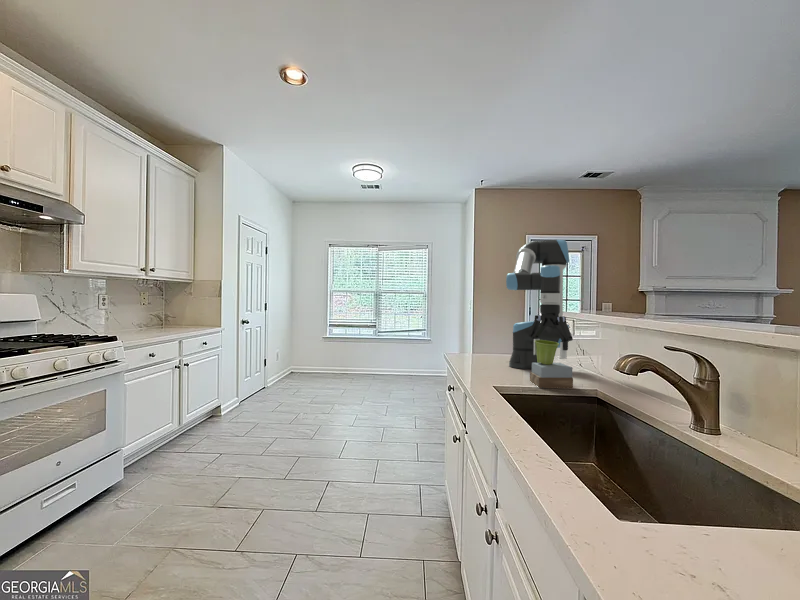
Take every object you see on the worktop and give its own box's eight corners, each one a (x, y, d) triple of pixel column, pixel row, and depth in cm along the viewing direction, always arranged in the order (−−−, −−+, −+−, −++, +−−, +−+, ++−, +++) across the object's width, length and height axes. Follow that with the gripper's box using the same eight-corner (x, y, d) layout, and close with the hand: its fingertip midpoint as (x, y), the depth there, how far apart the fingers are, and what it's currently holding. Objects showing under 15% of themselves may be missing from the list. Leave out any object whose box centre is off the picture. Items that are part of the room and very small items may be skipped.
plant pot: (553, 361, 174) (555, 341, 173) (560, 366, 164) (562, 345, 164) (530, 359, 175) (532, 339, 174) (535, 364, 165) (537, 343, 165)
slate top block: (531, 372, 173) (531, 362, 173) (560, 372, 172) (560, 362, 172) (541, 377, 161) (541, 367, 161) (572, 377, 160) (572, 367, 160)
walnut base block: (529, 382, 174) (529, 371, 174) (561, 382, 173) (561, 372, 173) (538, 389, 161) (539, 377, 161) (573, 389, 160) (573, 377, 160)
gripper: (520, 303, 176) (520, 353, 176) (569, 304, 154) (568, 361, 154) (533, 303, 180) (532, 352, 180) (582, 304, 158) (582, 360, 158)
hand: (549, 356), depth 167 cm, fingers open, 13 cm apart
